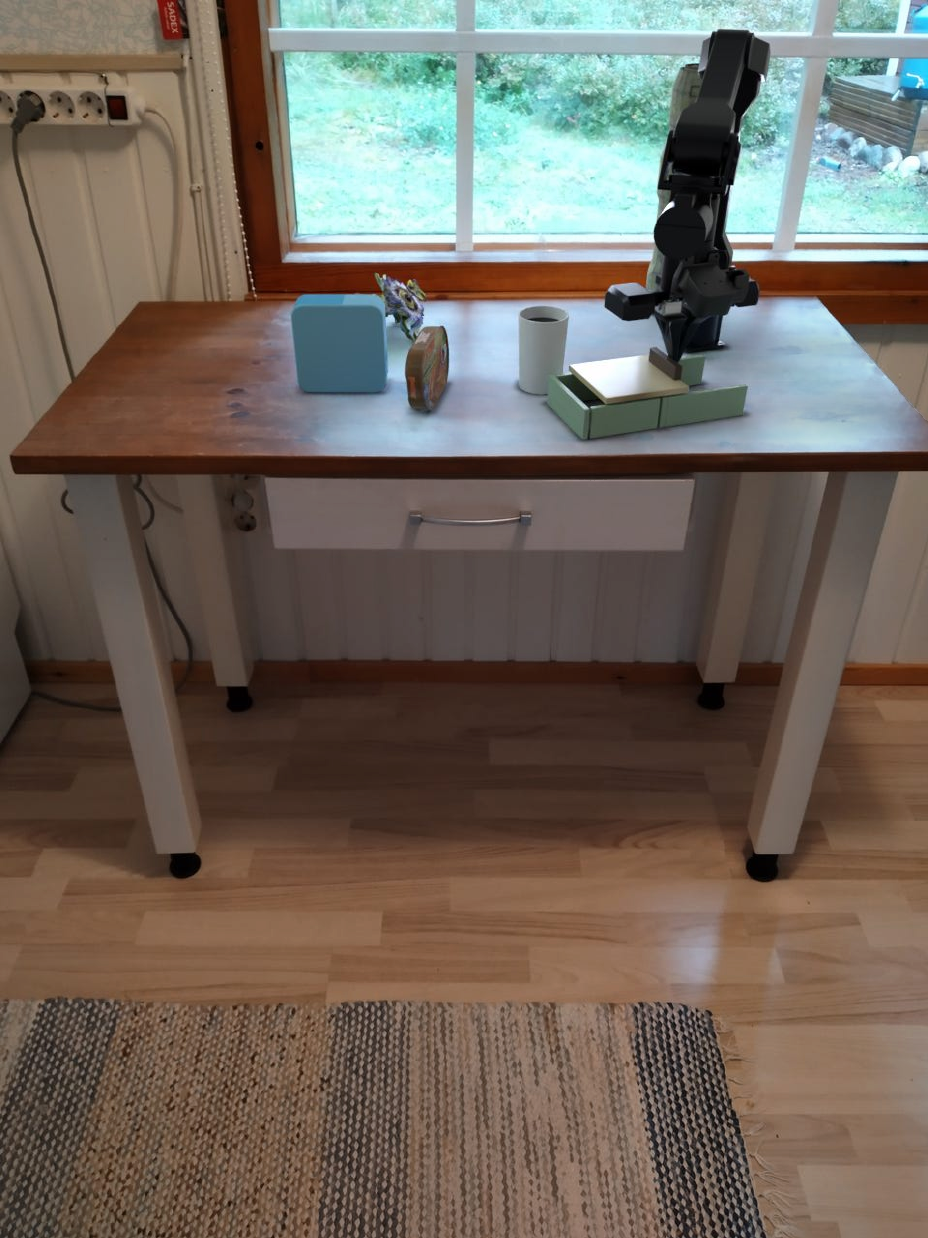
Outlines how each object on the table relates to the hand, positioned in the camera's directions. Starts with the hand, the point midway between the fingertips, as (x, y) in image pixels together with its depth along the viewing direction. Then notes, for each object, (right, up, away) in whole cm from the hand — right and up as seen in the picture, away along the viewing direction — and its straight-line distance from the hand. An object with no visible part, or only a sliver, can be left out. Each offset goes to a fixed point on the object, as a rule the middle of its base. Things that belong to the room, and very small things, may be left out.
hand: (673, 361), depth 127 cm
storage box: (-3, -6, +3) cm, 7 cm away
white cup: (-17, -1, +9) cm, 19 cm away
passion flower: (-38, +10, +24) cm, 46 cm away
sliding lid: (-6, -3, -1) cm, 7 cm away
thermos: (+7, +18, +35) cm, 39 cm away
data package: (-44, -1, +9) cm, 44 cm away
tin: (-32, -3, +6) cm, 33 cm away
